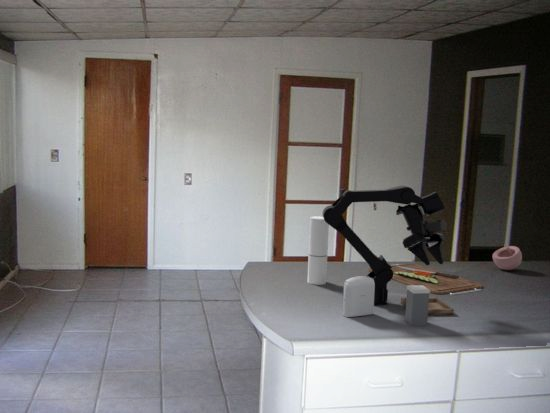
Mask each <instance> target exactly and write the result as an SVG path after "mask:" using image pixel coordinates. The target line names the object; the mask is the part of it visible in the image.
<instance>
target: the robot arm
mask: <svg viewBox="0 0 550 413" xmlns="http://www.w3.org/2000/svg"><path fill="white" fill-rule="evenodd" d="M371 202H372V203H373V202H377V203H378V202H389V203H395V204H399V205H398V206H397V210H396V212H395V214H396V216H399V215H401V214H402V215H403V218H404V220H405V223H406V224H407V227H406V230H407V231H409V232H410V235H409V236H407V237H405V238H403V241H402V244H403V245H402V246H403V249H407V251H409V252H410V253H412V254H413V255H414V256H415V257H417V259H419V260H420V261H421V262H422V263H423V264H425V265H426V266H429V265H430V264H431V262H430V258H429V256H428V255H429V254H428V253H430V255H431V256H432V257H433V258H434V259H435V260H436V262H437V263H438V264H439V265H443V264H444V257H443V245H444V244H445V242H446V241H447V239H446V236H445V234H443V233H440V232H447V227H448V224H447V221H445V220H444V219H437V220H436V221H432V222H430V220H427V219H425V218H424V215H426V216H427V217H430V216H434V215H436V214H439V213H441V212H444V211H445V205H444V202H443V201H442V199H441V197H440V196H439V194H438V192H436V191H434V192H433V191H432V192H431V193H429V194H427V195H425V196H422V197H421V195H417V194H416V192H415V190H414V189H413V188H412V187H409V186H407V185H400V186H399V185H398V186H393V187H391V188H390V187H389V188H386V189H368V190H366V189H363V190H350V189H347V190H345V191H344V192H343V193H342V194H341V196H339V197H338V198H337V199H336V200H335V201H334V202H333V203H332V204H330V205H327V206H325V208H323V210H322V217H323V218H324V220H325V222H326V223H327V224H329V227H331V228H333V229H334V230H335V231H337V232H338V233H340V234H341V236H343V238H344V239H345V240H346V241H347V242H348V243H349V245H351V247H352V248H353V249H354V250H355V251H356V252H357V253H358V254H359V256H360V257H362V259H363V260H364V261H365V262H366V264H368V266H369V268H371V269H372V271H371V272H368V274H366V277H370V278H372V279H373V280H374V283H375V291H374V306H375V305H377V306H378V305H379V306H380V305H388V296H389V289H387V288H388V286H387V285H388V283H389V282H390V281H392V280H391V279H392V278H393V271H392V269H391V268H392V266H391V265H392V264H391V263H390V262H389V261H387V260H386V259H385V257H384V256H383V254H380V255H379V256H378V255H376V254H375V253H374V252H373V251H372V250H371V249H370V248H369V246H367V244H366V243H365V242H364V241H363V240H362V239H361V237H359V236H358V234H357V233H356V232H355V231H354V230H353V228H351V227H350V225H349V224H348V223H347V221H346V220H345V218H344V217H343V214H344V213H346V211H347V210H348V208H349V207H350V206H351V204H352V203H371ZM412 203H413V204H412ZM400 204H401V205H403V206H401V205H400ZM427 251H428V253H427Z"/></svg>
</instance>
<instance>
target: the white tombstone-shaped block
mask: <svg viewBox="0 0 550 413" xmlns="http://www.w3.org/2000/svg"><path fill="white" fill-rule="evenodd" d="M374 291H375V283H374V280H373V279H372V278H370V277H367V275H366V276H365V275H360V276H359V275H357V276H353V277H350V278H348V279H345V281H344V283H343V292H342V294H343V296H342V297H343V298H342V299H343V300H342V315H343V317H345V318H352V317H360V316H361V317H363V316H369V315H373V314H374V310H375V309H374V307H375V305H374Z"/></svg>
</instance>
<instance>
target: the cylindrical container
mask: <svg viewBox="0 0 550 413" xmlns="http://www.w3.org/2000/svg"><path fill="white" fill-rule="evenodd" d="M329 227H330V225H329V224H327V223H326V222H325V220H324V218H323V216H319V215H317V216H315V215H314V216H310V217H309V233H308V234H309V239H308V257H307V258H308V259H307V281H306V282H307V284H311V285H320V286H322V285H326V284H327V270H328V253H329V252H328V247H329Z"/></svg>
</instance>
